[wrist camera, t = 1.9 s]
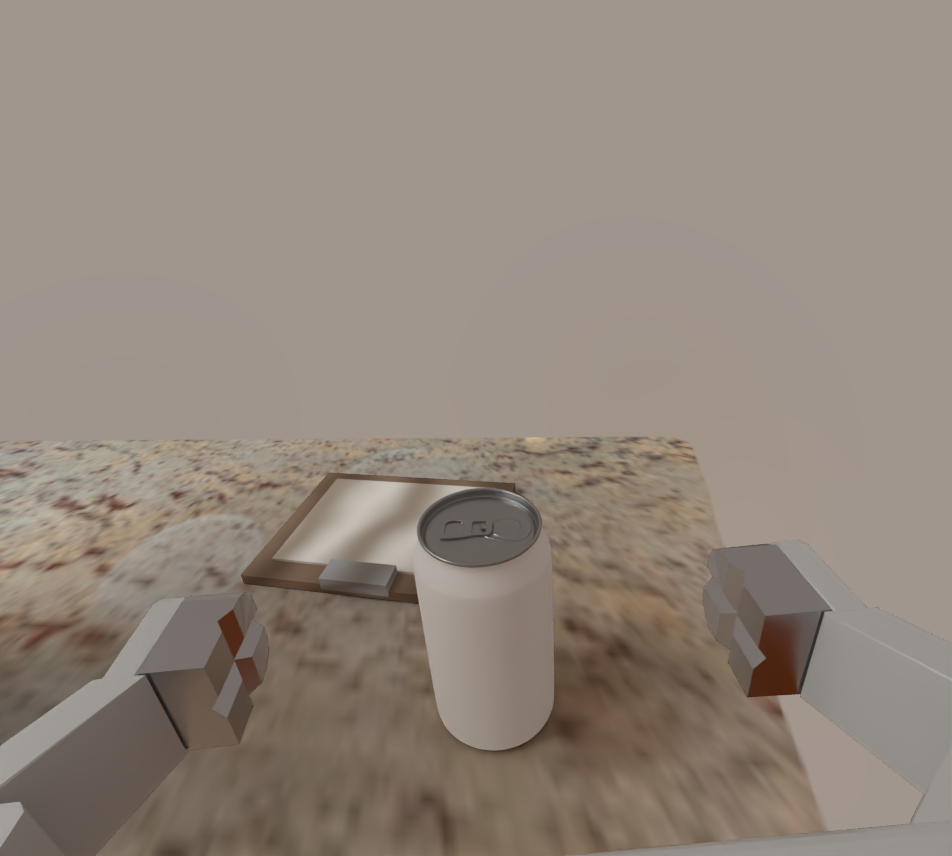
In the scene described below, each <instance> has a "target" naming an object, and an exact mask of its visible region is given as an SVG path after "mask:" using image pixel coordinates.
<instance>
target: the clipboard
mask: <svg viewBox="0 0 952 856" xmlns="http://www.w3.org/2000/svg"><path fill="white" fill-rule="evenodd" d="M474 488H496V489H503V490H507V491H511V492H514V493H515V483H499V482H482V481H464V480H447V479H430V478H412V477H395V476H378V475H360V474H343V473H328V474H327V475H326V477H325V478H324V479H323V480H322V481H321V482H320V484H319V485H318V486H317V487H316V488H315V489H314V491H313V492H312V493H311V494H310V495H309V496H308V498H307V499H306V500H305V501H304V502H303V503H302V505H301V506H300V507H299V508H298V509H297V510H296V512H295V513H294V514H293V515H292V516H291V517H290V519H289V520H288V521H287V522H286V523H285V524H284V526H283V527H282V528H281V529H280V530H279V531H278V532H277V534H276V535H275V536H274V537H273V538H272V539H271V541H270V542H269V543H268V544H267V545H266V546H265V548H264V549H263V550H262V551H261V552H260V553H259V555H258V556H257V557H256V558H255V559H254V560H253V562H252V563H251V564H250V565H249V566H248V567H247V569H246V570H245V571H244V572H243V573H242V574H241V576H242V579H243V582H244V583H246V584H255V585H263V586H272V587H281V588H289V589H298V590H307V591H315V592H324V593H333V594H341V595H350V596H359V597H367V598H376V599H385V600H394V601H402V602H411V603H419V601H418V595H417V588H416V582H415V576H414V568H413V552H414V548H415V545H416V542H417V539H418V536H417V526H418V522H419V520H420V518H421V516H422V514H423V513H424V512H425V511H426V509H427V508H428V507H430V506H431V505H432V504H433V503H435V502H436V501H438V500H439V499H441V498H443V497H445V496H447V495H450V494H452V493H455V492H458V491H462V490H467V489H474Z"/></svg>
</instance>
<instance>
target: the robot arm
mask: <svg viewBox="0 0 952 856" xmlns="http://www.w3.org/2000/svg"><path fill="white" fill-rule="evenodd" d="M707 568H708V569H709V571H710V573H711V574H712V576H713V578H712V579H711V580H710V581H709V582H708V583H707V584H706V585H705V586H704V592H703V607H704V613H705V618H706V621H707V623H708V626H709V629H710V631H711V633H712V635H713V636H714V638H715V640H716V641H717V642H719V643H720V644H722V645H723V646H725V647H726V648H728V649H729V650H730V653H729V658H728V664H729V666H730V667H731V669H732V671H733V673H734V675H735V676H736V678H737V680H738V682H739V683H740V685H741V687H742V689H743V691H744V692H745V694H746V696H747V697H761V696H777V695H792V694H801V695H800V697H801V698H802V699H804V700H805V701H806V702H807V703H809V704H810V705H811V706H812V707H814V708H815V709H816V710H817V711H819V712H820V713H821V714H823V715H824V716H825V717H827V718H828V719H829V720H830V721H831V722H833V723H834V724H835V725H837V726H838V727H839V728H840V729H842V730H843V731H844V732H845V733H847V734H848V735H849V736H850V737H852V738H853V739H854V740H855V741H857V742H858V743H859V744H861V745H862V746H863V747H864V748H866V749H867V750H868V751H870V752H871V753H872V754H873V755H874V756H876V757H877V758H878V759H880V760H881V761H882V762H883V763H885V764H886V765H887V766H888V767H890V768H891V769H892V770H894V771H895V772H896V773H897V774H899V775H900V776H901V777H902V778H904V779H905V780H906V781H907V782H909V783H910V784H911V785H913V786H914V787H915V788H916V789H918V790H919V791H920V792H921V793H923V794H924V795H923V797H922V799H921V801H920V803H919V805H918V807H917V808H916V811H915V812H914V815H913V816H912V818H911V822H910V824H902V825H891V826H880V827H869V828H859V829H848V830H837V831H826V832H815V833H804V834H793V835H783V836H772V837H761V838H750V839H739V840H728V841H717V842H706V843H695V844H684V845H673V846H662V847H651V848H640V849H629V850H619V851H608V852H597V853H586V854H575V855H564V856H952V643H950V642H948V641H946V640H944V639H942V638H940V637H938V636H936V635H934V634H932V633H929V632H927V631H926V630H923V629H921V628H919V627H917V626H915V625H913V624H911V623H909V622H907V621H905V620H903V619H900V618H899V617H897V616H894V615H892V614H890V613H888V612H886V611H884V610H882V609H880V608H878V607H876V608H875V607H874V608H867V607H866V605H864V603H863V602H862V601H861V600H860V599H859V598H858V597H857V596H856V595H855V594H854V593H853V592H852V591H851V590H850V588H848V587H847V585H846V584H844V582H843V581H842V580H841V579H840V578H839V577H838V576H837V575H836V574H835V573H834V571H833V570H832V569H831V568H830V567H829V566H828V565H827V564H826V563H825V562H824V561H823V560H822V559H821V558H820V557H819V556H818V555H817V554H816V552H815V551H814V550H813V549H812V548H811V547H810V546H809V545H808V544H807V543H805V542H803V541H801V540H793V541H784V542H775V543H770V544H760V545H750V546H740V547H730V548H720V549H713V550H712V551H711V553H710V555H709V558H708V564H707ZM256 610H257V607H256V605H255V603H254V600H253V598H252V595H250V594H247V593H232V594H218V595H203V596H190V597H184V598H168V599H161V600H159V601H158V602H156V603H154V604H153V605H152V606H151V608H150V609H149V611H148V612H147V614H146V615H145V617H144V618H143V620H142V621H141V623H140V624H139V625H138V627H137V628H136V630H135V631H134V633H133V634H132V636H131V637H130V639H129V640H128V642H127V643H126V645H125V646H124V647H123V649H122V650H121V652H120V653H119V655H118V656H117V658H116V659H115V661H114V662H113V664H112V665H111V667H110V668H109V669H108V671H107V672H106V674H105V675H104V677H103V678H102V679H96V680H92V681H90V682H89V683H87V684H86V685H85V686H83V687H82V688H80V689H79V690H78V691H76V692H75V693H73V694H72V695H71V696H69V697H68V698H66V699H65V700H64V701H62V702H61V703H59V704H58V705H57V706H55V707H54V708H52V709H51V710H50V711H48V712H47V713H45V714H44V715H43V716H41V717H40V718H38V719H37V720H36V721H34V722H33V723H31V724H30V725H29V726H27V727H26V728H24V729H23V730H22V731H20V732H19V733H17V734H16V735H14V736H13V737H12V738H10V739H9V740H7V741H6V742H5V743H3V744H2V745H0V856H95V855H96V854H97V853H98V852H99V851H100V849H101V848H102V847H103V846H104V845H105V844H106V843H107V842H108V841H109V840H110V838H111V837H112V836H113V835H114V834H115V833H116V832H117V831H118V830H119V828H120V827H121V826H122V825H123V824H124V823H125V822H126V821H127V820H128V819H129V817H130V816H131V815H132V814H133V813H134V812H135V811H136V810H137V809H138V807H139V806H140V805H141V804H142V803H143V802H144V801H145V800H146V799H147V798H148V796H149V795H150V794H151V793H152V792H153V791H154V790H155V789H156V788H157V786H158V785H159V784H160V783H161V782H162V781H163V780H164V779H165V778H166V777H167V775H168V774H169V773H170V772H171V771H172V770H173V769H174V768H175V767H176V765H177V764H178V763H179V762H180V761H181V760H182V759H183V758H184V757H185V756H186V754H187V750H196V749H204V748H212V747H220V746H228V745H237V744H239V743H240V741H241V738H242V735H243V733H244V730H245V727H246V724H247V722H248V719H249V716H250V714H251V711H252V708H253V705H252V702H251V700H250V697H249V694H250V693H251V692H252V691H253V690H255V689H256V688H257V687H258V686H259V685H260V684H261V683H262V681H263V678H264V675H265V672H266V669H267V663H268V654H269V646H268V638H267V635H266V632H265V629H264V627H263V626H262V625H260V624H259V623H257V622H256V621H255V620H253V617H254V615H255V612H256Z"/></svg>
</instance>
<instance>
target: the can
mask: <svg viewBox="0 0 952 856" xmlns="http://www.w3.org/2000/svg"><path fill="white" fill-rule="evenodd" d="M417 536H418V539H417V542H416V545H415V548H414V552H413V568H414V576H415V582H416V588H417V595H418V601H419V607H420V613H421V618H422V624H423V630H424V636H425V642H426V648H427V654H428V659H429V665H430V671H431V676H432V682H433V688H434V693H435V699H436V704H437V708H438V712H439V715H440V717H441V720H442V722H443V723H444V725H445V727H446V728H447V729H448V730H449V732H450V733H451V734H452V735H453V736H455V737H456V738H457V739H458V740H460V741H461V742H463V743H465V744H467V745H469V746H472V747H474V748H478V749H482V750H492V751H495V750H505V749H510V748H513V747H516V746H519V745H521V744H523V743H525V742H527V741H528V740H530V739H531V738H532V737H534V736H535V735H536V734H537V733H538V732H539V731H540V730H541V729H542V728H543V726H544V725H545V723H546V722H547V720H548V718H549V716H550V714H551V711H552V708H553V703H554V635H553V582H552V555H551V546H550V542H549V539H548V537H547V535H546V533H545V531H544V529H543V528H542V520H541V516H540V513H539V511H538V510H537V508H536V507H535V506H534V505H533V504H532V503H531V502H530V501H529V500H528V499H526V498H524V497H523V496H521V495H519V494H516V493H514V492H511V491H507V490H503V489H496V488H474V489H467V490H462V491H458V492H455V493H452V494H450V495H447V496H445V497H443V498H441V499H439V500H438V501H436V502H435V503H433V504H432V505H431V506H430V507H428V508H427V509H426V511H425V512H424V513H423V514H422V516H421V518H420V520H419V522H418V526H417Z"/></svg>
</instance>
